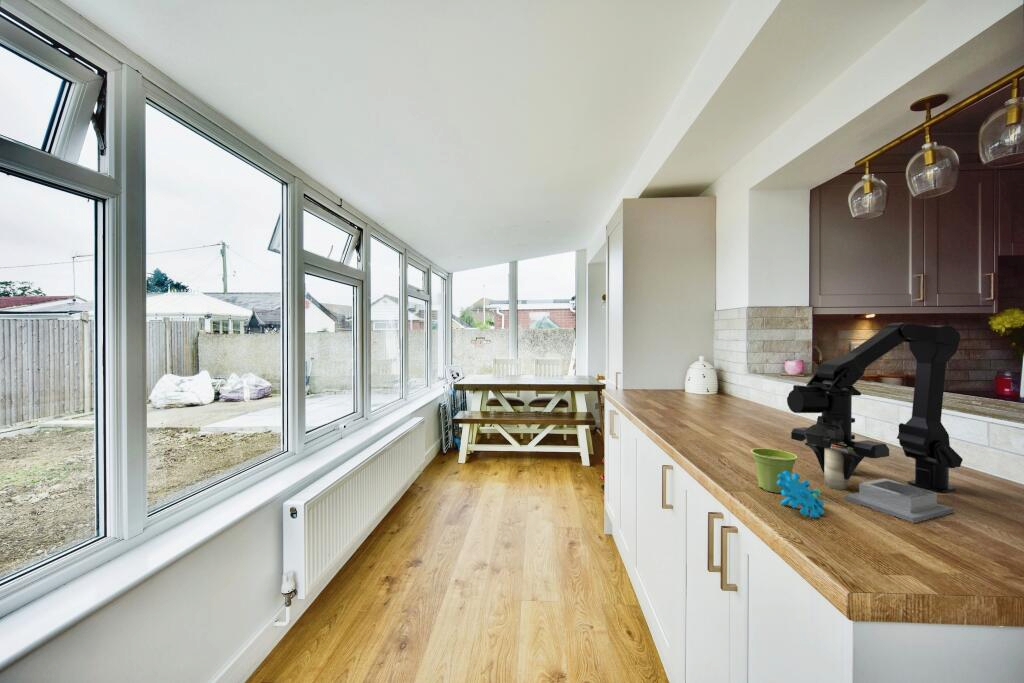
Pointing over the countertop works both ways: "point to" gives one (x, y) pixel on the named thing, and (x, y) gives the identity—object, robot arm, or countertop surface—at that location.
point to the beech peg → (834, 469)
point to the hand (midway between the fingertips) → (835, 476)
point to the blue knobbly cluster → (800, 494)
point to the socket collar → (898, 495)
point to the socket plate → (912, 517)
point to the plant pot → (772, 467)
